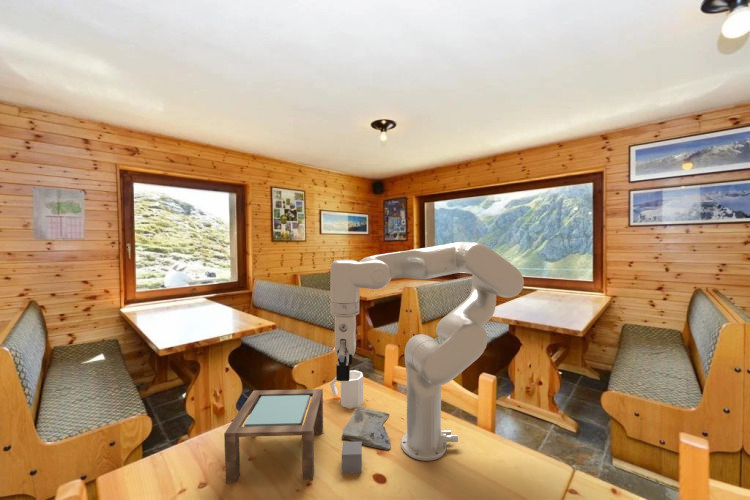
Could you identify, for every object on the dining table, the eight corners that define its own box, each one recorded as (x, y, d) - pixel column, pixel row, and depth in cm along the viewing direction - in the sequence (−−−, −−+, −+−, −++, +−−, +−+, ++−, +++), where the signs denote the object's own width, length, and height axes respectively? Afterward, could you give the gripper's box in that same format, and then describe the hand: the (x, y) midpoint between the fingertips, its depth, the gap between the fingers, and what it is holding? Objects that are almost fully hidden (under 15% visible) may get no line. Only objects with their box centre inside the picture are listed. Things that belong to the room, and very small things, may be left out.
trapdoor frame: (323, 428, 101) (322, 389, 100) (312, 480, 80) (311, 431, 79) (254, 430, 100) (253, 390, 100) (225, 482, 79) (224, 433, 79)
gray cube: (361, 459, 88) (361, 441, 87) (361, 473, 83) (361, 454, 82) (343, 459, 87) (342, 441, 87) (341, 473, 82) (341, 454, 82)
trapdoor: (310, 398, 97) (310, 395, 97) (301, 426, 83) (301, 423, 83) (261, 399, 96) (261, 396, 96) (244, 428, 82) (244, 424, 82)
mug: (365, 397, 120) (365, 371, 119) (360, 409, 111) (360, 381, 111) (334, 394, 122) (334, 368, 122) (326, 406, 114) (326, 378, 113)
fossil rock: (354, 411, 111) (354, 405, 111) (398, 417, 108) (398, 410, 108) (338, 444, 94) (338, 436, 94) (389, 452, 91) (389, 444, 91)
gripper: (357, 316, 76) (357, 387, 77) (360, 300, 93) (360, 359, 94) (325, 316, 76) (325, 387, 77) (334, 300, 93) (334, 358, 94)
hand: (344, 371), depth 86 cm, fingers open, 9 cm apart
